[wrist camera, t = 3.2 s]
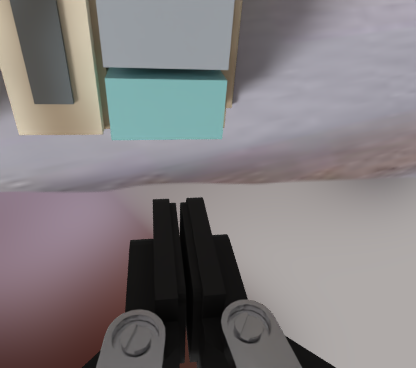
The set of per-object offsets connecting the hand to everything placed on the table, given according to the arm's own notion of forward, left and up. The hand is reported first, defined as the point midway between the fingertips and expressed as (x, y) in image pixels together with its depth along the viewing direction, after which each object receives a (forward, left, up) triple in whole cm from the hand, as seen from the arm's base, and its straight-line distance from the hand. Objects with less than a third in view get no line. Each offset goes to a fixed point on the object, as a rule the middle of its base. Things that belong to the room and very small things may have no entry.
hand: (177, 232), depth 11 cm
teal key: (0, 0, -16) cm, 16 cm away
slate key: (0, -5, -16) cm, 16 cm away
